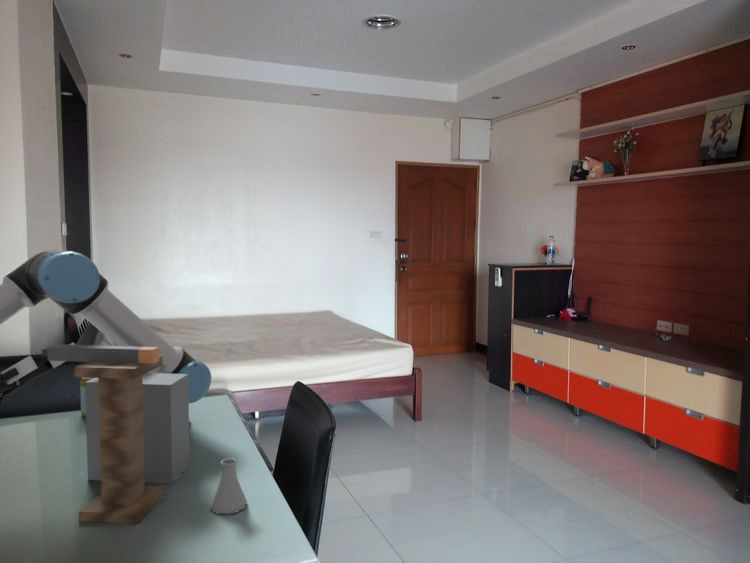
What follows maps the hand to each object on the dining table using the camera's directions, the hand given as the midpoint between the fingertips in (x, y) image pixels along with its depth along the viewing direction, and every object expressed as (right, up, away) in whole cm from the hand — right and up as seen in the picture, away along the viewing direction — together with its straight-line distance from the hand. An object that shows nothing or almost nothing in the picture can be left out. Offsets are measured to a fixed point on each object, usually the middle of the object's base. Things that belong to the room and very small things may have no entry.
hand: (55, 354), depth 113 cm
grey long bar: (+10, -1, 0) cm, 10 cm away
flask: (+35, -33, +3) cm, 48 cm away
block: (+9, -31, +19) cm, 37 cm away
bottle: (-24, -27, +62) cm, 72 cm away
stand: (+13, -32, +2) cm, 35 cm away
